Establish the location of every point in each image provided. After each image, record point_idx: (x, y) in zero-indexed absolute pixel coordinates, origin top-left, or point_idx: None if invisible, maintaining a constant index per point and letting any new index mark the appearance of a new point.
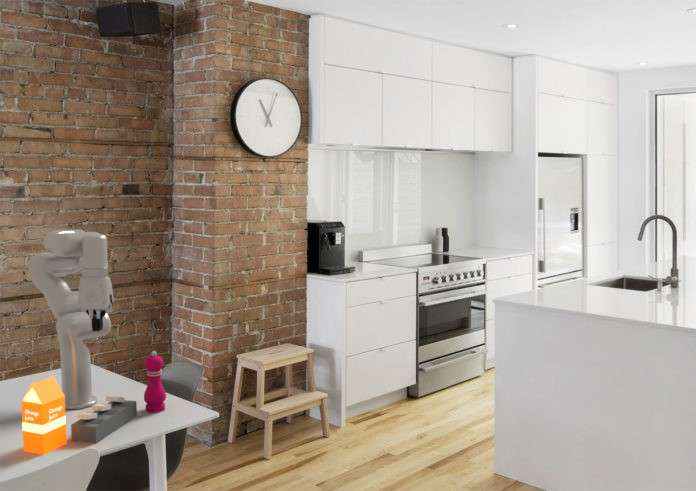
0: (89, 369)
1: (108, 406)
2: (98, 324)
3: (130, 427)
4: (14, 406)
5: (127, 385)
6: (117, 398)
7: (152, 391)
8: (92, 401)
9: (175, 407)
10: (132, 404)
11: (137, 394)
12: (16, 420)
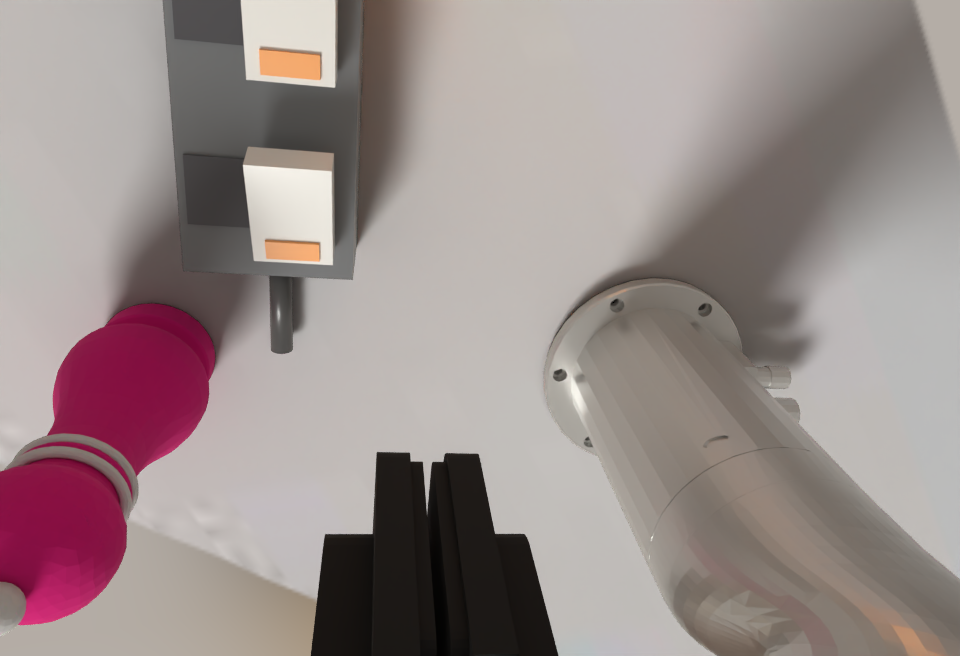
0: (625, 496)
1: (245, 36)
2: (365, 584)
3: (125, 36)
4: (948, 283)
5: None
6: (245, 172)
7: (97, 367)
8: (559, 380)
9: None
10: (181, 217)
11: None
12: (872, 72)
